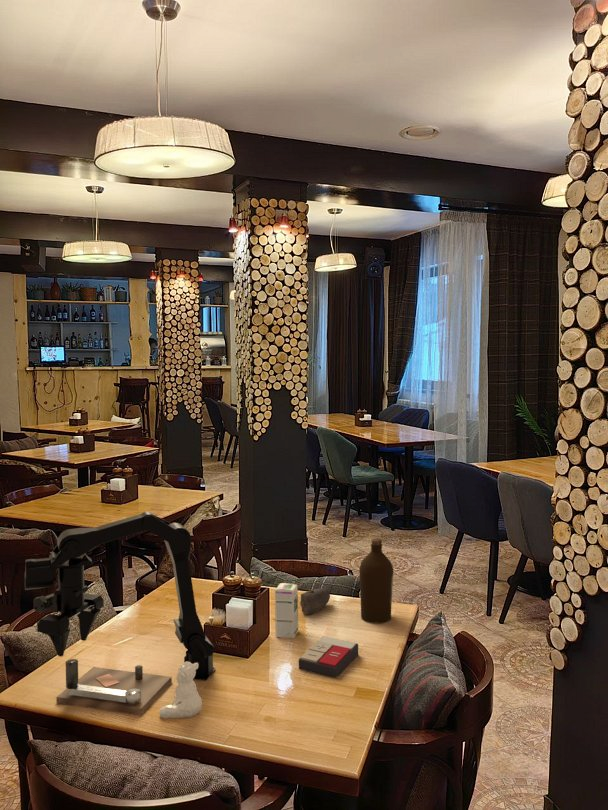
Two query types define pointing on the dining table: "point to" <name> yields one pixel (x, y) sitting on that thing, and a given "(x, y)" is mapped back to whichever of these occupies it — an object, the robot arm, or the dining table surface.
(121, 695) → the lever
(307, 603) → the perforated stone tool
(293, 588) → the syrup box
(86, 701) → the board
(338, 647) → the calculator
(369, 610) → the olive oil
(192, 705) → the sitting furry creature
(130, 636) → the dining table surface
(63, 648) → the robot arm
